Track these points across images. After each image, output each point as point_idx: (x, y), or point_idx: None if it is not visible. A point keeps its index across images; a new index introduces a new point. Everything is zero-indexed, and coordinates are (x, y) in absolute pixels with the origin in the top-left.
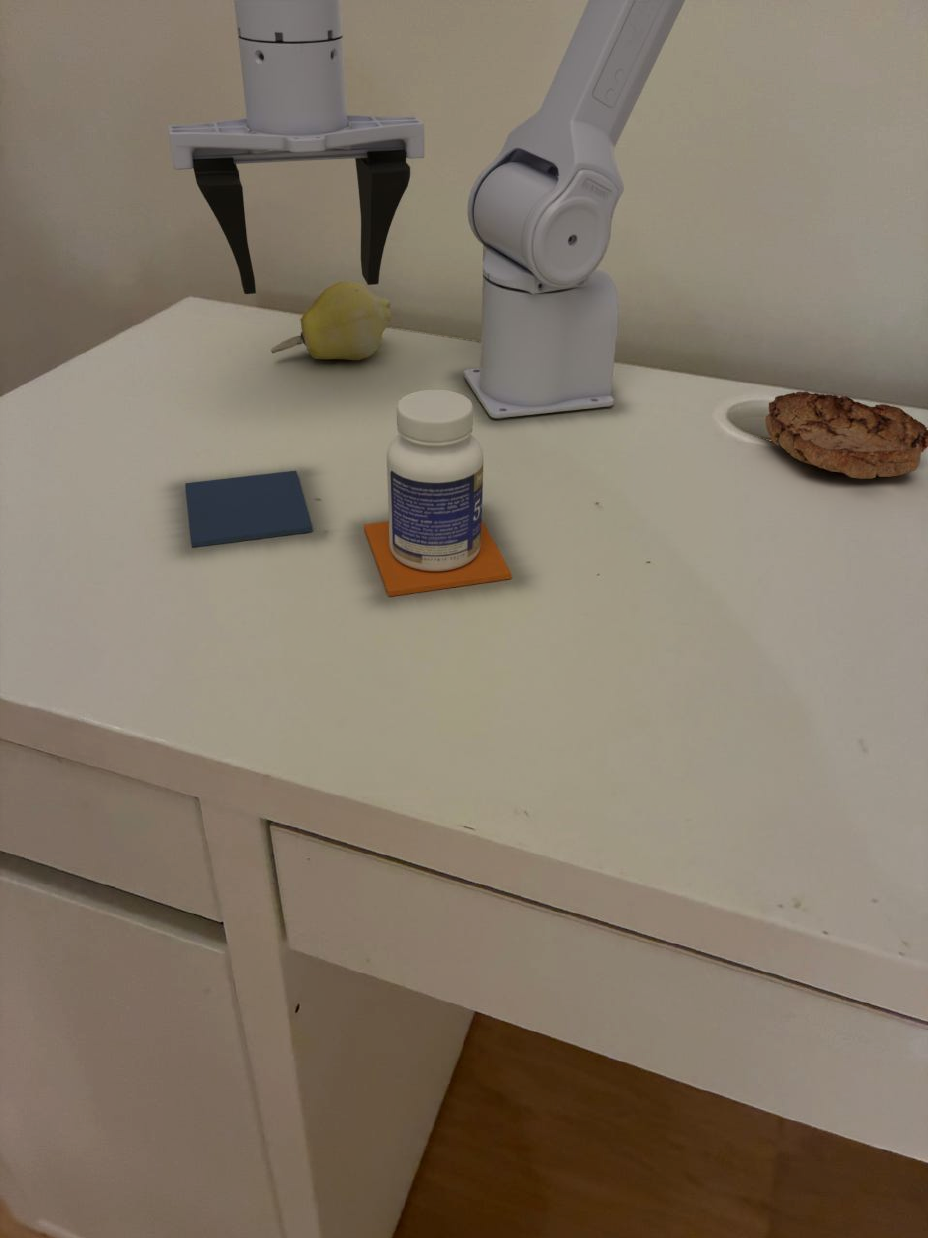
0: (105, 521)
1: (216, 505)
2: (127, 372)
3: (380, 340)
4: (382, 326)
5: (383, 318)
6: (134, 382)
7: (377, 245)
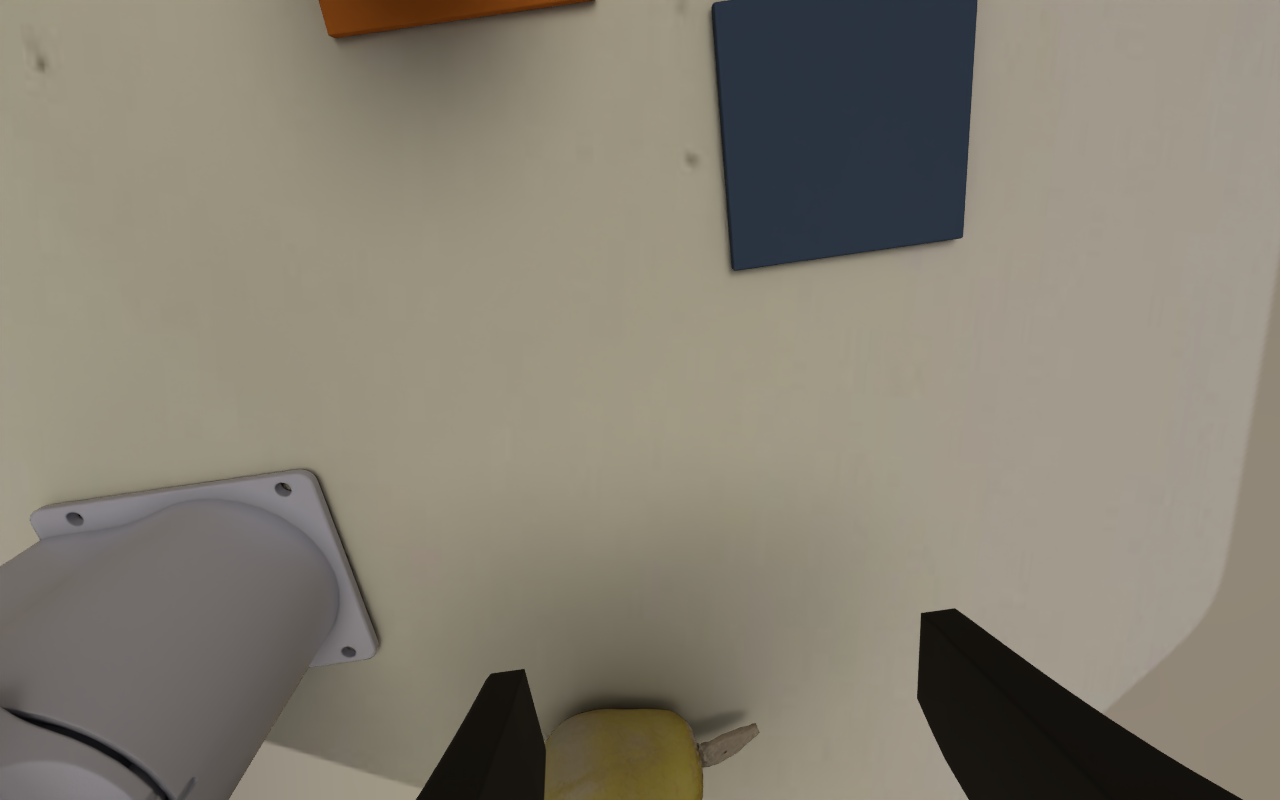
0: (1126, 115)
1: (910, 129)
2: None
3: None
4: None
5: None
6: None
7: (446, 794)
